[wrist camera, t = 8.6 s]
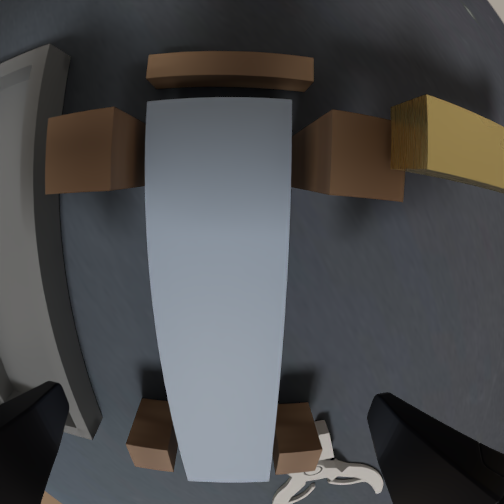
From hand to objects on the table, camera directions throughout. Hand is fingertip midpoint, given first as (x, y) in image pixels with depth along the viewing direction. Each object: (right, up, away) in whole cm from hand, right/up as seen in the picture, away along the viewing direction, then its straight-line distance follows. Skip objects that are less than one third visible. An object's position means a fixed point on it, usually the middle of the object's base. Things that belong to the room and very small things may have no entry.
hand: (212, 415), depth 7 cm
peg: (0, +2, +6) cm, 6 cm away
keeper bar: (+9, +7, -1) cm, 12 cm away
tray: (-12, +4, +5) cm, 13 cm away
